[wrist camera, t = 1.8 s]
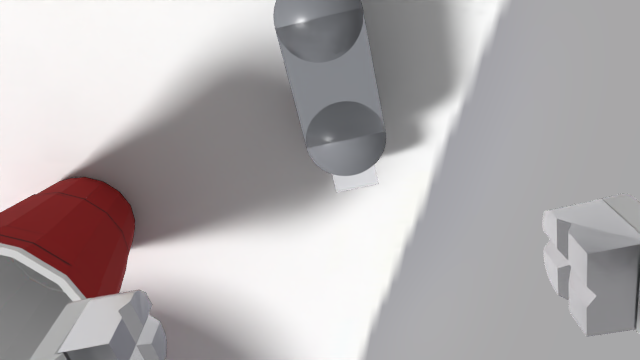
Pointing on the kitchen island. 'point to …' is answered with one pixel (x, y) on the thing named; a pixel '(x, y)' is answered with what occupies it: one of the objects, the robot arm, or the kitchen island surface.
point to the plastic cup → (59, 257)
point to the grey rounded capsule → (333, 86)
